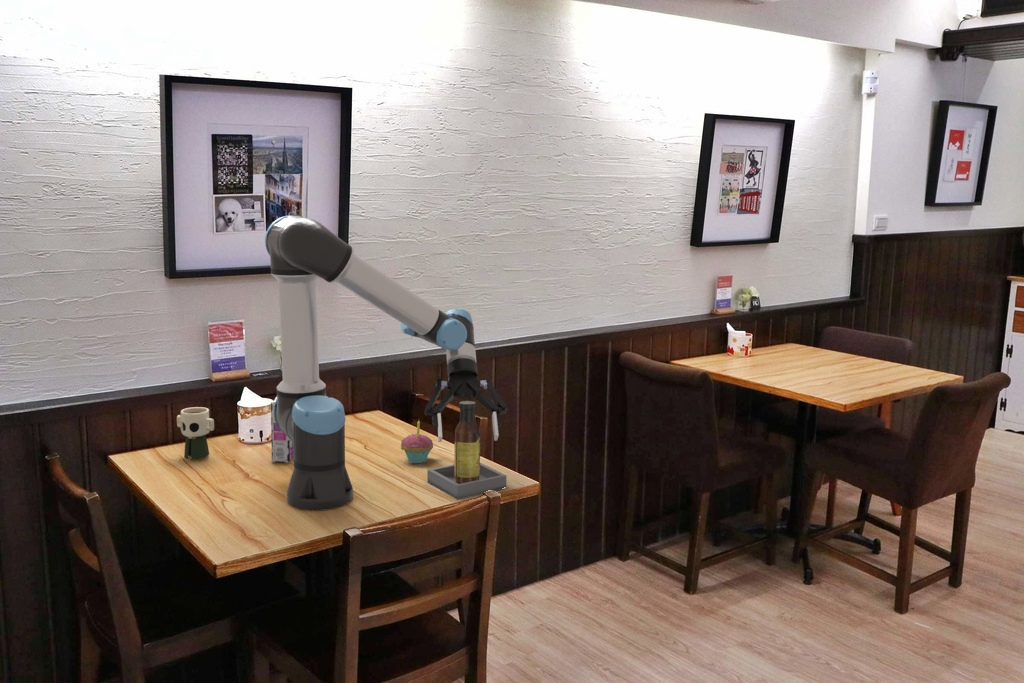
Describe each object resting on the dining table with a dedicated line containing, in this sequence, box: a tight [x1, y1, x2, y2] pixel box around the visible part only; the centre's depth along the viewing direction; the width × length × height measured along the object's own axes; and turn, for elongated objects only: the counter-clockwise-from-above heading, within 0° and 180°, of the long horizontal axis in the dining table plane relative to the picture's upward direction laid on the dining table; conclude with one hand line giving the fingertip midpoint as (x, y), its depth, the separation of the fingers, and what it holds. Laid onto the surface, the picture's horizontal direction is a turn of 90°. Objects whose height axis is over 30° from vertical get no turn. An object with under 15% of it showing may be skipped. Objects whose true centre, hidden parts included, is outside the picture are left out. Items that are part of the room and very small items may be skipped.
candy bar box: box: [270, 396, 294, 464], centre depth 243 cm, size 11×5×16 cm, turn 2°
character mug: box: [176, 406, 215, 461], centre depth 241 cm, size 11×7×13 cm, turn 74°
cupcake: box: [400, 419, 434, 464], centre depth 243 cm, size 9×8×12 cm
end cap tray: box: [427, 462, 508, 500], centre depth 226 cm, size 14×14×3 cm
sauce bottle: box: [454, 400, 481, 484], centre depth 224 cm, size 7×6×20 cm
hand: (468, 438), depth 222 cm, fingers open, 13 cm apart
